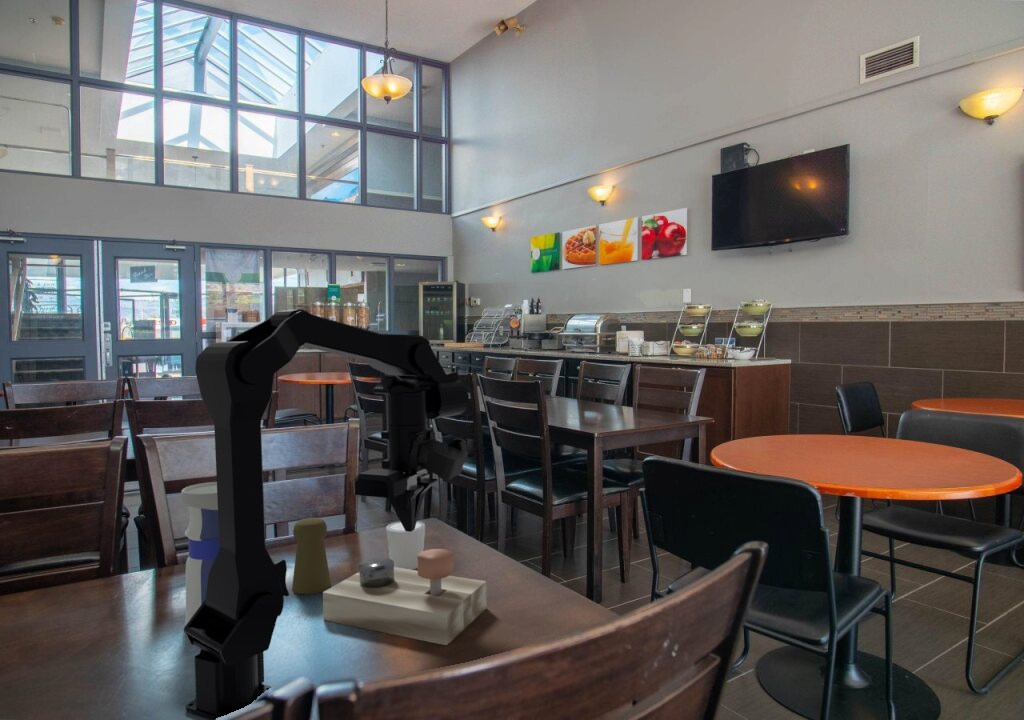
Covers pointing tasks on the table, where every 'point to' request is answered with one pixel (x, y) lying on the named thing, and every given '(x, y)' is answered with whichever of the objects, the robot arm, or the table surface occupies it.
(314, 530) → the cork
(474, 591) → the plunger block
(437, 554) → the pink mushroom knob
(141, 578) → the table surface
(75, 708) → the table surface
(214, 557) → the water bottle
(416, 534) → the shot glass
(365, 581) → the metal plunger
